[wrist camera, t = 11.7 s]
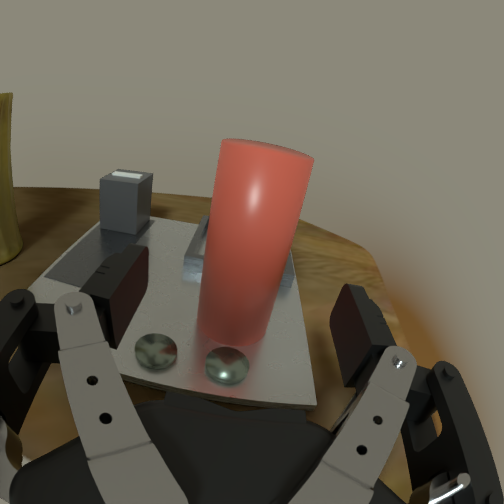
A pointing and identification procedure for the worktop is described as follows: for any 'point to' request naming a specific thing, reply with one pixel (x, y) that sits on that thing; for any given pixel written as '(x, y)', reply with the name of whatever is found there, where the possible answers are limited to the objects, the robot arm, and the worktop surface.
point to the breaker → (125, 200)
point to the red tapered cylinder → (249, 237)
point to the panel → (191, 322)
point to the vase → (7, 187)
